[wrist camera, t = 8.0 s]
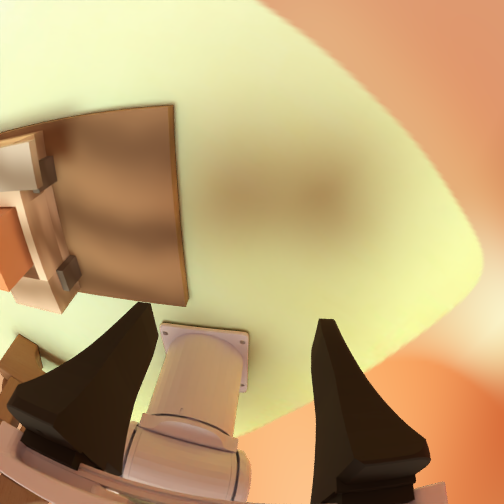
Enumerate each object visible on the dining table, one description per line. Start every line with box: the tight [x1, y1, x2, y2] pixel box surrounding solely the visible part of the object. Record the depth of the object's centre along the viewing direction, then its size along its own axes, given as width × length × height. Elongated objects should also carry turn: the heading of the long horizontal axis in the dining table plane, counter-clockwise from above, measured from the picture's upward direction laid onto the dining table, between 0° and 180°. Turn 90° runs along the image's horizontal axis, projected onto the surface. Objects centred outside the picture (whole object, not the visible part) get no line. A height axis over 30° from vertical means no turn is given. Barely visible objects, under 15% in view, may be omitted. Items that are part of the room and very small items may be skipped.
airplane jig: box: [0, 105, 189, 314], centre depth 19 cm, size 15×20×5 cm
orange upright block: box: [0, 207, 34, 292], centre depth 18 cm, size 5×3×6 cm, turn 179°
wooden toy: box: [0, 334, 49, 504], centre depth 25 cm, size 16×7×25 cm, turn 67°
